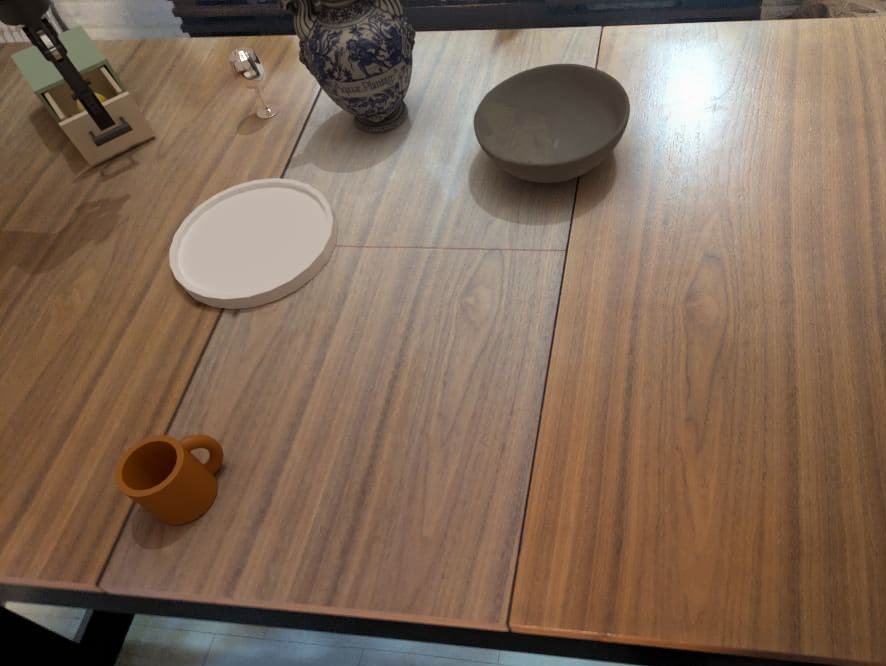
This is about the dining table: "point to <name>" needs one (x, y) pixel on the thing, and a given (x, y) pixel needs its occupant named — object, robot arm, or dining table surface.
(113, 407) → the dining table surface
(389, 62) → the decorative vase
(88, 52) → the cabinet
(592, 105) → the bowl
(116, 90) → the drawer
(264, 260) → the plate
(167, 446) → the mug
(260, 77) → the wineglass
